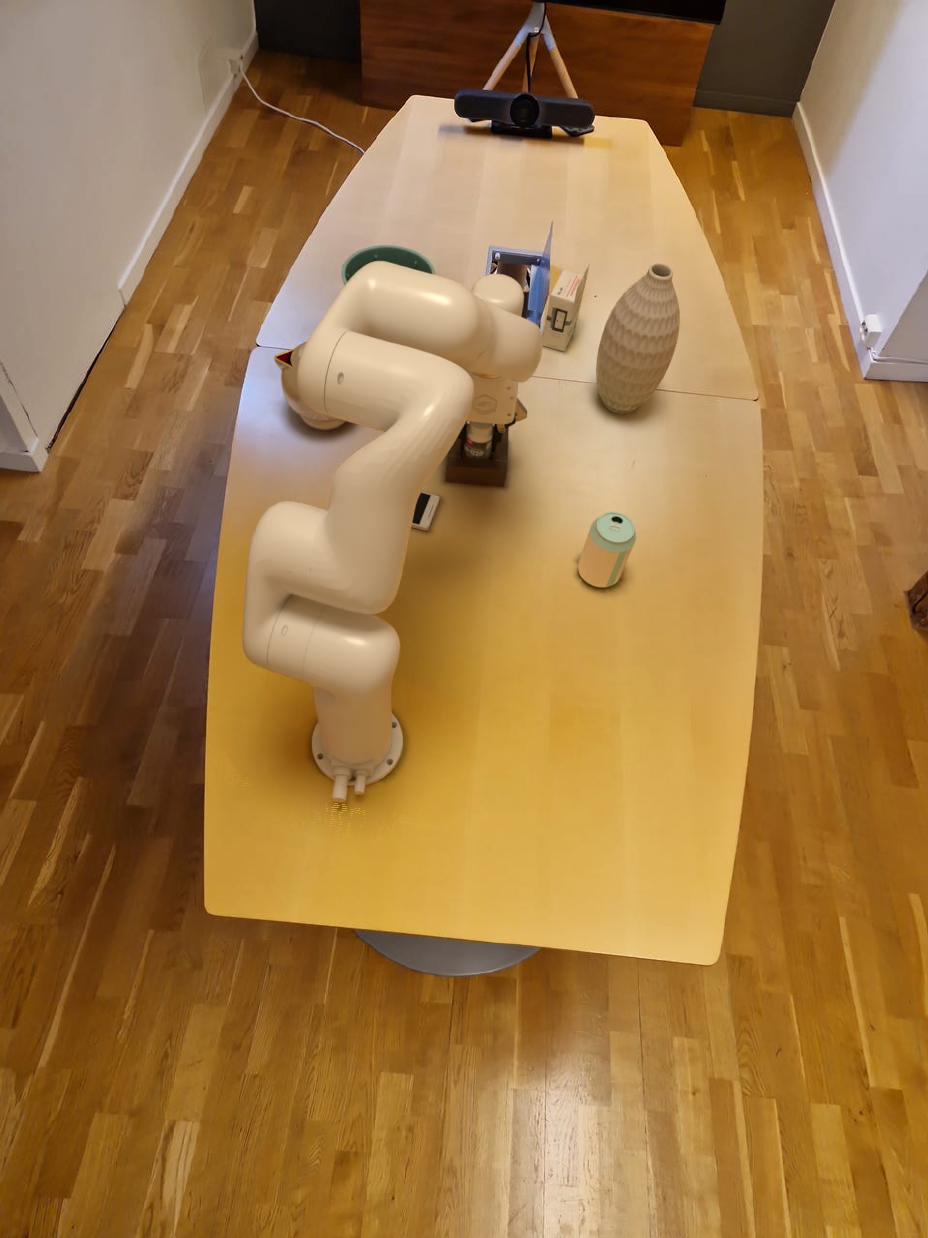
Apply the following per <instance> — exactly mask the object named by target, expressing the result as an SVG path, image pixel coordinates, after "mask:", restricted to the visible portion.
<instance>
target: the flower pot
mask: <svg viewBox="0 0 928 1238" xmlns="http://www.w3.org/2000/svg"><path fill="white" fill-rule="evenodd" d="M374 261H385V262H389V263H393V264H396V265H400V266H404V267H408V268H411V269H414V270H418V271H422V272H426V273H429V274H433V275H437V274H436V270H435V267H434V265H433V263H432V262H431V261H430V260H429V259H428V258H427V257H426V256H424V255H423V254H421V253H420V252H418V251H416V250H413V249H411V248H408V247H404V246H400V245H393V244H392V245H391V244H379V245H373V246H368V247H365V248H362V249H360V250H358V251H355V252H354V253H352V254H351V255H350V256H349V257H347V259H346V260H345V261H344V263H343V264H342V267H341V278H342V282H343V284H344V286H345V285H346V283H347V282H348V281H349V280H350V278H351V277H352V276H353V275H354V274H355V273H356V272H357V271H358V270H360V269H361V268H362V267H364V266H365V265H367V264H369V263H371V262H374Z"/></svg>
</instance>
